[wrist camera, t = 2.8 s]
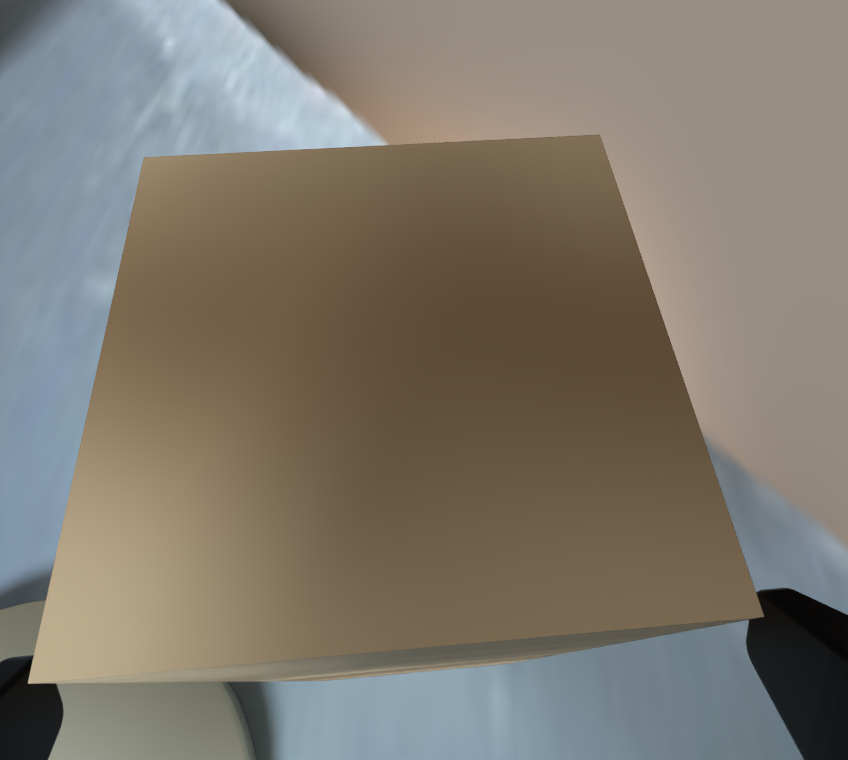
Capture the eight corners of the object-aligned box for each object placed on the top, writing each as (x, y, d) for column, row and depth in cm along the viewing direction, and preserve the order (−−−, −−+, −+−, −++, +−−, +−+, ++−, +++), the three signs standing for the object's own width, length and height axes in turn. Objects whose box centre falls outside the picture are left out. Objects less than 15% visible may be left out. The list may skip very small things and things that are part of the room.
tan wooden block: (507, 663, 15) (764, 616, 4) (323, 681, 15) (26, 684, 4) (482, 487, 18) (599, 134, 6) (324, 499, 17) (143, 158, 6)
